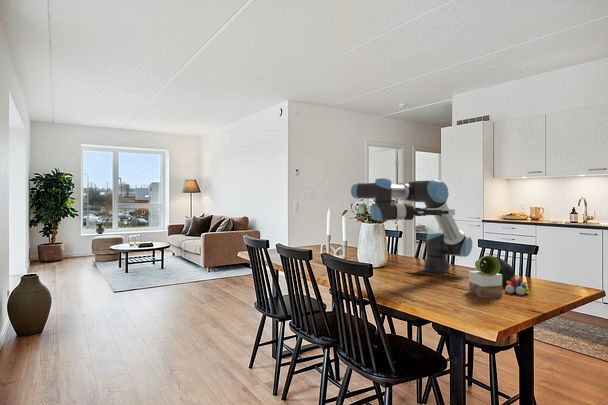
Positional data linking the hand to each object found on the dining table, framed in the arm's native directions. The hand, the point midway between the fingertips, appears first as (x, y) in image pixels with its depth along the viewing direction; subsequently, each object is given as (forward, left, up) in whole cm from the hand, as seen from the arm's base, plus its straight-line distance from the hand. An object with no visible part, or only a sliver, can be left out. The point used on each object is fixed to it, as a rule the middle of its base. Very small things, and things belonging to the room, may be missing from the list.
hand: (447, 211), depth 180 cm
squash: (-14, +34, -38) cm, 53 cm away
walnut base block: (+6, +15, -38) cm, 42 cm away
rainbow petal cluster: (+5, +31, -38) cm, 50 cm away
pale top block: (+5, +16, -33) cm, 37 cm away
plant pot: (+2, +16, -25) cm, 30 cm away
